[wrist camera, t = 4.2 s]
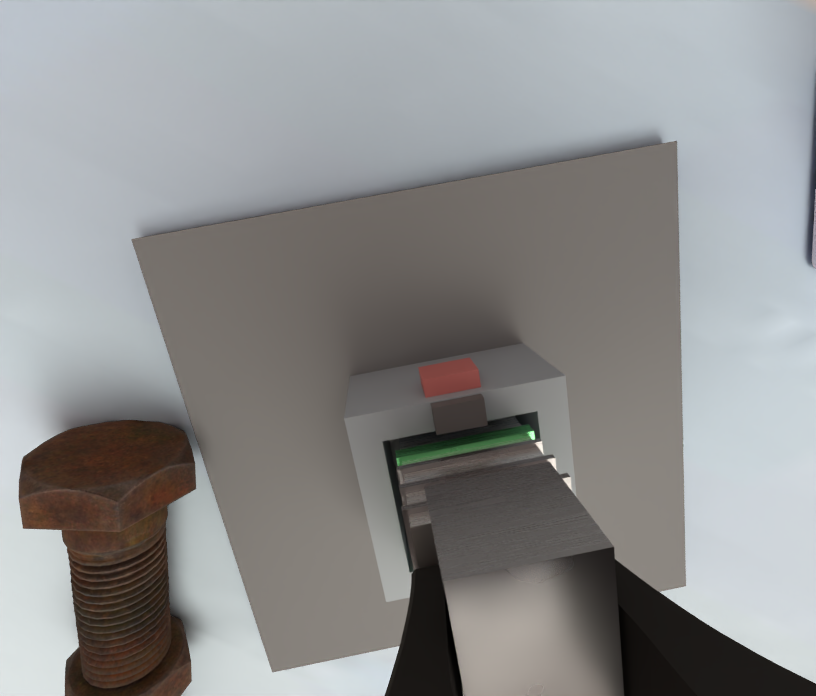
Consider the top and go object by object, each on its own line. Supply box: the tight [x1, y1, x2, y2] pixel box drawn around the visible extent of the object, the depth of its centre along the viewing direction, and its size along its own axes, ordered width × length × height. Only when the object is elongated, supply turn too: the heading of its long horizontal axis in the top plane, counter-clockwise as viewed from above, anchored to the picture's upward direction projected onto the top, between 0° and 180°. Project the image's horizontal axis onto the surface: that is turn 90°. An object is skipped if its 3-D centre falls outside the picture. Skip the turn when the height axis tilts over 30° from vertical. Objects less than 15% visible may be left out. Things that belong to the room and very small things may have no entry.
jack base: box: [132, 141, 686, 672], centre depth 17 cm, size 20×20×5 cm
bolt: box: [19, 420, 196, 696], centre depth 19 cm, size 6×5×15 cm
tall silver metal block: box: [395, 416, 624, 696], centre depth 13 cm, size 4×6×8 cm
